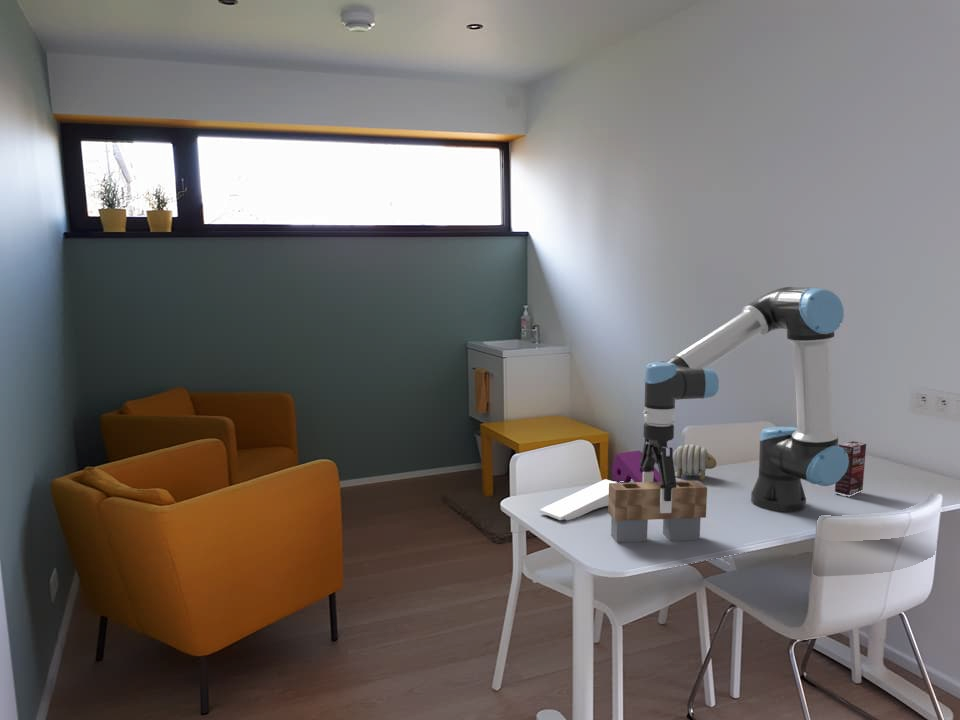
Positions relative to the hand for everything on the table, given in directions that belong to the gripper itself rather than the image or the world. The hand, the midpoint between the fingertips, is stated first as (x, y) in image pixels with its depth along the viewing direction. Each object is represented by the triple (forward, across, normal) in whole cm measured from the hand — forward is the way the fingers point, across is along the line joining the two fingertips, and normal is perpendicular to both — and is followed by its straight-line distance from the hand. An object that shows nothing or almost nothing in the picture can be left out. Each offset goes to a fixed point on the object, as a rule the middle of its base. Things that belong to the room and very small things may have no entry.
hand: (656, 504), depth 186 cm
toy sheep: (+9, -53, +31) cm, 62 cm away
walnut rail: (+3, 0, 0) cm, 3 cm away
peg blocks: (+9, 0, 0) cm, 9 cm away
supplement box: (+9, -30, +73) cm, 79 cm away
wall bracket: (+10, -24, -13) cm, 29 cm away
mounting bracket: (+10, -45, +11) cm, 47 cm away
